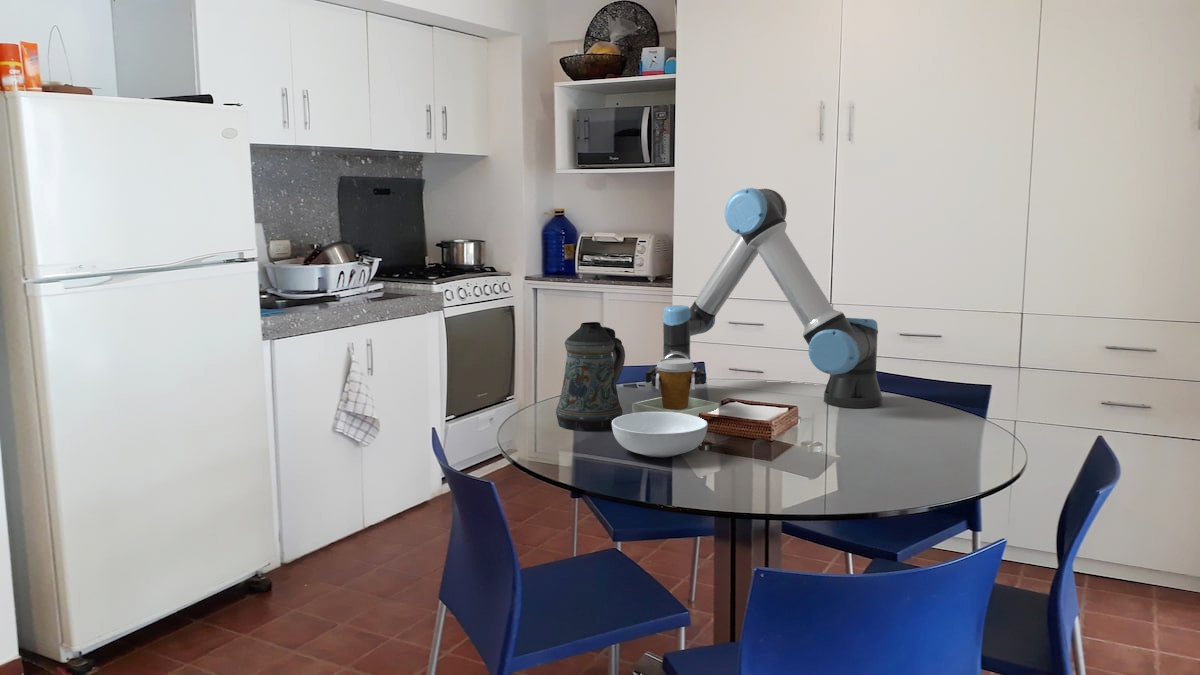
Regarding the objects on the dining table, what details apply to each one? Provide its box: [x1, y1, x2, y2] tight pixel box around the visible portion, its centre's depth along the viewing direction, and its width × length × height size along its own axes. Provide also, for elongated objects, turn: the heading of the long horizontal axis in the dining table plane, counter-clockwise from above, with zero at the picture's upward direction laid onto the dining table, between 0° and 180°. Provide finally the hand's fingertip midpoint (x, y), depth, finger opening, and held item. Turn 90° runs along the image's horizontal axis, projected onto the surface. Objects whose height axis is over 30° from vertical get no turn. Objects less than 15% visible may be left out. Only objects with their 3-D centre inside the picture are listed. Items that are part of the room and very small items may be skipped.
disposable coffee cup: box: [656, 358, 695, 410], centre depth 226 cm, size 10×10×12 cm
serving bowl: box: [611, 412, 709, 458], centre depth 195 cm, size 21×21×7 cm
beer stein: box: [555, 321, 626, 432], centre depth 221 cm, size 16×19×25 cm
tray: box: [631, 396, 720, 417], centre depth 227 cm, size 16×16×4 cm
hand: (675, 383), depth 221 cm, fingers closed on disposable coffee cup, 8 cm apart
